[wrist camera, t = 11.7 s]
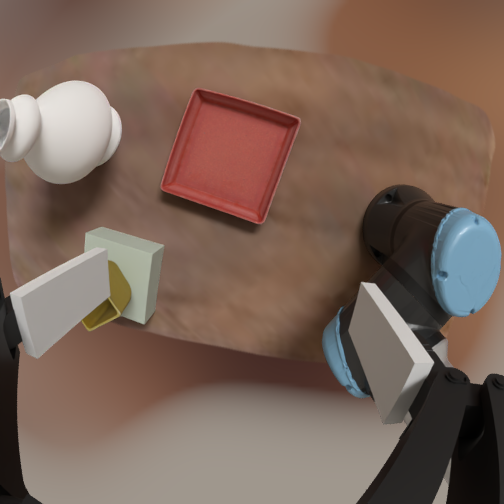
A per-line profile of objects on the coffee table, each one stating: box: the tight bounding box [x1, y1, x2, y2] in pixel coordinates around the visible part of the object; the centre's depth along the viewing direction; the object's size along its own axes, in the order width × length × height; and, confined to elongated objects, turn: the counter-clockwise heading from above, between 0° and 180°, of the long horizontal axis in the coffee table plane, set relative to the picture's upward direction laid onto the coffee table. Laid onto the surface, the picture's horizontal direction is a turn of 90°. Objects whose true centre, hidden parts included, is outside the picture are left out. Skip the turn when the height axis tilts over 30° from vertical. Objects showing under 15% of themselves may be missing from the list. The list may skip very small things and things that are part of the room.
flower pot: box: [81, 260, 131, 332], centre depth 43 cm, size 9×9×9 cm
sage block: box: [84, 227, 165, 324], centre depth 50 cm, size 14×14×6 cm
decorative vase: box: [0, 81, 122, 184], centre depth 34 cm, size 18×18×25 cm
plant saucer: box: [161, 88, 301, 224], centre depth 44 cm, size 18×18×3 cm
